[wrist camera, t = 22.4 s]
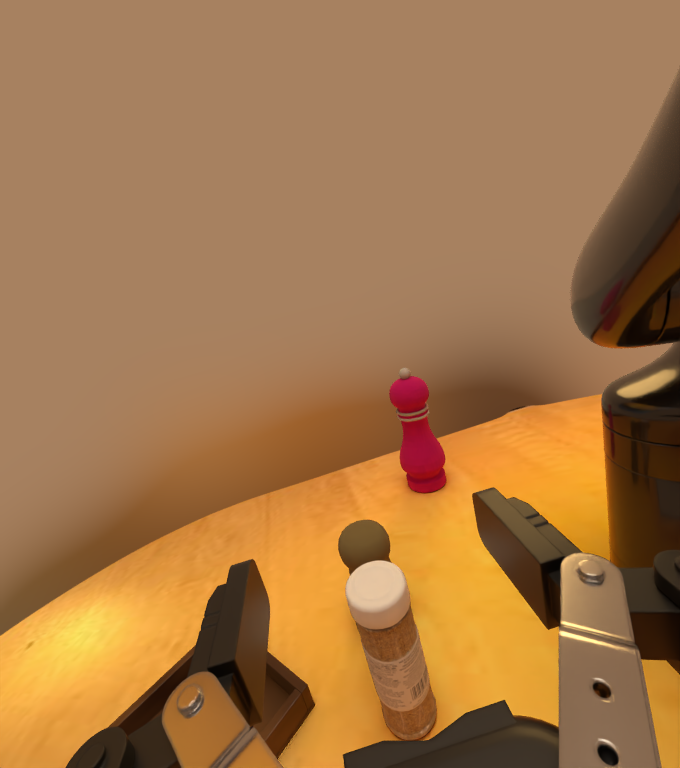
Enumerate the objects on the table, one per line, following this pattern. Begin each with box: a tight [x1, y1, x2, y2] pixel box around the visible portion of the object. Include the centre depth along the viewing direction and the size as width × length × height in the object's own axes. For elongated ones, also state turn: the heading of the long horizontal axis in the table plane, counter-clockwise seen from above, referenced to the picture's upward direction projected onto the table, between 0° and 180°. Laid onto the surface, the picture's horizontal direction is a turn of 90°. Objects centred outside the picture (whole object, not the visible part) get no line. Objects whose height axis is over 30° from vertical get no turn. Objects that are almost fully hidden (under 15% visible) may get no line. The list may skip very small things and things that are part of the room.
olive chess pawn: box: [338, 520, 391, 630], centre depth 37 cm, size 6×6×11 cm
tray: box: [108, 645, 315, 758], centre depth 31 cm, size 16×14×2 cm
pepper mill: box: [389, 368, 446, 493], centre depth 58 cm, size 7×7×20 cm
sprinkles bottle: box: [345, 561, 437, 740], centre depth 28 cm, size 5×5×14 cm
